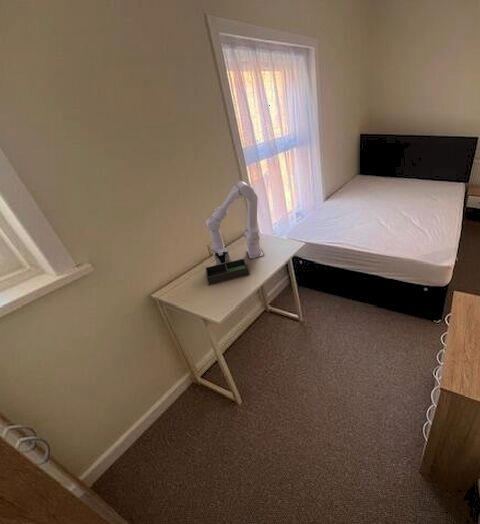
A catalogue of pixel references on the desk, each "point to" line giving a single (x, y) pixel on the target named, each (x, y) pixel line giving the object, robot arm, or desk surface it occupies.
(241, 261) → the organizer
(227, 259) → the medicine box
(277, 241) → the desk surface
